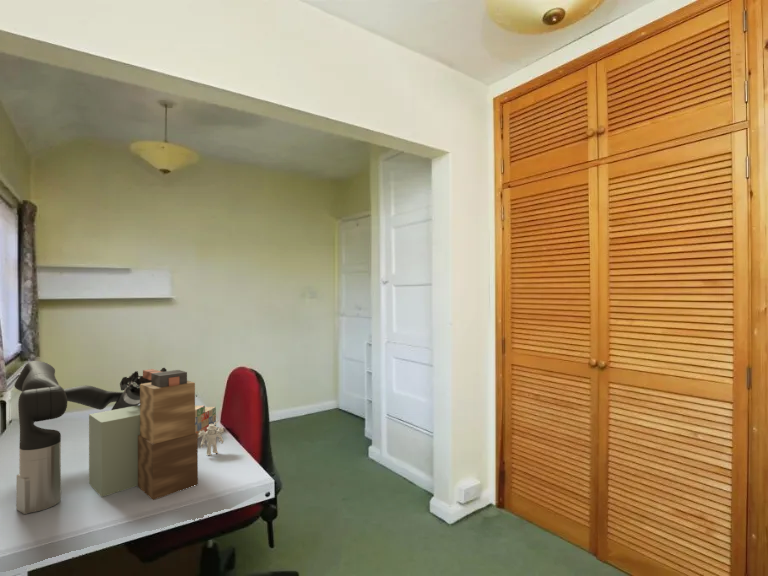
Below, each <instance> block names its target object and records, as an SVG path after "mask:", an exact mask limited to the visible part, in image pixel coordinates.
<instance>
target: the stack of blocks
mask: <svg viewBox="0 0 768 576" xmlns="http://www.w3.org/2000/svg"><path fill="white" fill-rule="evenodd" d="M216 412H217V409H216V406H205V405H195V433H197V435H198V437H200V438H201V436H199V433H200V431H205V433H206V431H207V430H208V429H207V427H208V426H209V424H214V422H216V421H217V413H216ZM215 427H217V424H216V425H215Z"/></svg>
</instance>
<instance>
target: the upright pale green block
mask: <svg viewBox="0 0 768 576" xmlns="http://www.w3.org/2000/svg"><path fill="white" fill-rule="evenodd" d="M138 435H140V404H139V405H137V406H132V407H126V408H121V409H115V410H111V409H109V410H106V411H99V412H93V413H89V414H88V483H89V486H91V487H92V488H93V489H94V491H96V492H97V493H96V494H98V495H99V496H100V497H101V498H102V497H106V496H108V495H112V494H116V493H118V492H121V491H125V490H128V489H131V488H134V487H138Z"/></svg>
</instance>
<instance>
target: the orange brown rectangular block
mask: <svg viewBox="0 0 768 576" xmlns="http://www.w3.org/2000/svg"><path fill="white" fill-rule="evenodd" d="M142 376H143V378H146V379H149V380H151V385H154V386H157V387H159V388H161V387H167V386H175V385H180V384H186V383H187V381H188V371H184V370H180V369H175V370H174V369H173V370H167V371H165V372H161V371H160V370H157V369H155V368H150V369H149V368H148V369H142Z"/></svg>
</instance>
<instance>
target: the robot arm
mask: <svg viewBox="0 0 768 576" xmlns="http://www.w3.org/2000/svg"><path fill="white" fill-rule="evenodd" d="M159 371H161V372H165V371H168V370H167V369H166V367H161V369H160V370H159ZM150 382H151V380H149V379H146V378H143V375H139V371H137V370H136V371H134V372H133V373H131V375H129V376H128V377H127V376H123V377H122V378H121V381H120V383H119V387H120V388H119V389H120V391H113V390H112V391H111V390H106V389H102V388H99V387H96V386H92V385H78V386H73V387H67V388H63V387H62V386H61V385H60V384H59V382H58V380H57V378H56V369H55V367H53V366H52V365H51V364H50V363H49V364H48V362H45V361H41V360H37V361H36V360H34V361H29V362H28V363H26V364H25V365H24V367H23V368H22V370H21V372H20V374H19V375H18V377H17V378H16V381H15V382H14V385H13V386H14V388H15V389H16V390H17V391H19V392H21V393H20V394H19V397H18V403H17V404H18V405H17V406H18V410H17V411H18V421H19V424H18V425H19V447H18V448H19V449H18V450H19V455H18V456H19V457H18V458H19V459H18V460H19V463H18V465H19V467H18V468H19V474H16V481H15V483H16V484H15V485H16V491H15V492H16V494H15V495H16V503H15V504H16V505H15V506H16V510H17V511H19V512H20V513H22V514H23V515H27V514H29V513H35V512H39V511H40V512H41V511H44V510H46V509H49V508H51V507H54V506H56V505H58V504H59V503H60V502H61V499H62V485H61V484H62V480H61V479H62V474H61V473H62V472H61V471H62V470H61V469H62V465H61V464H62V461H61V460H62V458H61V457H62V455H61V453H62V442H61V441H62V436H61V432H60V431H59V430H57V429H49V428H43V427H40V426H37V425H35V423H36V422H43V421H49V420H55V419H58V418H60V417H62V416H63V415H64V414H65V413H66V411H67V408H68V402H71V403H76V404H80V405H82V406H87V407H88V408H89V407H90V408H93V409H96V410H104V409H106V407H108V405H109V404H111V403H114V404H113V406H112V408H111V409H110V410H115V409H121V408H126V407H132V406H137V405H140V384H144V383H150ZM121 391H122V392H121Z"/></svg>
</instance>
